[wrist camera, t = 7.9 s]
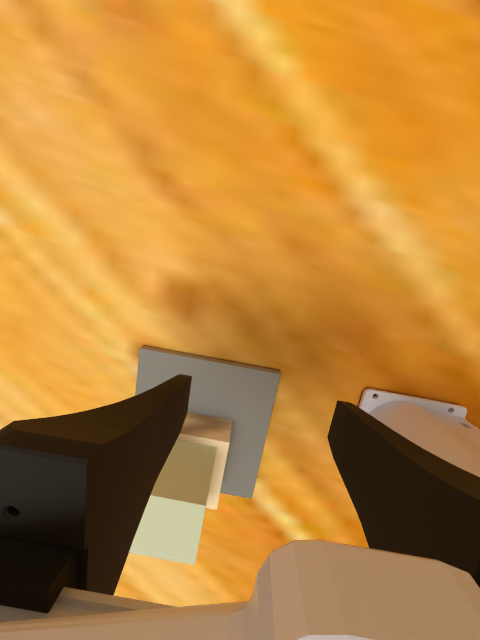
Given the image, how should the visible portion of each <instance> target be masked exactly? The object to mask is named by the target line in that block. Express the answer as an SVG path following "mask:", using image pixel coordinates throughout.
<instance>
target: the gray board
mask: <svg viewBox="0 0 480 640" xmlns="http://www.w3.org/2000/svg"><path fill="white" fill-rule="evenodd" d="M179 374H183V375H189V376H192V380H191V388H190V396H189V404H188V412H191V413H196V414H202V415H207V416H212V417H218V418H223V419H228V420H232V426H231V435H230V443H229V448H228V453H227V458H226V463H225V468H224V473H223V479H222V484H221V489H220V493H224V494H230V495H235V496H240V497H245V498H251V499H252V495H253V491H254V486H255V482H256V478H257V473H258V469H259V465H260V461H261V456H262V452H263V448H264V443H265V439H266V435H267V430H268V426H269V422H270V417H271V413H272V409H273V404H274V400H275V396H276V392H277V387H278V383H279V379H280V371H279V370H273V369H268V368H263V367H257V366H252V365H246V364H241V363H236V362H230V361H225V360H220V359H214V358H209V357H203V356H198V355H193V354H187V353H182V352H176V351H171V350H166V349H160V348H155V347H149V346H142V347H141V348H140V351H139V362H138V372H137V383H136V393H135V396H136V395H138V394H141V393H143V392H145V391H147V390H149V389H152V388H154V387H156V386H158V385H159V384H161V383H163V382H165V381H167V380H169V379H171V378H173V377H175V376H176V375H179Z"/></svg>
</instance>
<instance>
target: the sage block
mask: <svg viewBox="0 0 480 640" xmlns="http://www.w3.org/2000/svg"><path fill="white" fill-rule="evenodd" d="M216 450H217V447H213V446H208V445H203V444H198V443H192V442H187V441H182V440H176V442H175V444H174V446H173V448H172V450H171V452H170V454H169V456H168V458H167V460H166V462H165V464H164V466H163V468H162V470H161V472H160V474H159V476H158V478H157V481H156V483H155V485H154V488H153V490H152V493H151V495H150V498H149V500H148V503H147V505H146V508H145V511H144V513H143V516H142V518H141V521H140V524H139V526H138V529H137V532H136V534H135V537H134V540H133V542H132V545H131V548H130V551H129V553H133V554H138V555H143V556H149V557H154V558H159V559H164V560H169V561H175V562H180V563H185V564H190V565H195V562H196V556H197V551H198V546H199V540H200V535H201V530H202V524H203V519H204V514H205V509H206V503H207V498H208V493H209V487H210V482H211V477H212V471H213V466H214V460H215V455H216Z"/></svg>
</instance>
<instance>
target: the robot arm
mask: <svg viewBox="0 0 480 640" xmlns="http://www.w3.org/2000/svg"><path fill="white" fill-rule="evenodd" d="M191 380H192V376H189V375H183V374H179V375H176V376H175V377H173V378H171V379H169V380H167V381H165V382H163V383H161V384H159V385H158V386H156V387H154V388H152V389H149V390H147V391H145V392H143V393H141V394H138V395H136V396H134V397H131V398H129V399H126V400H123V401H120V402H117V403H114V404H111V405H107V406H103V407H99V408H96V409H92V410H88V411H83V412H78V413H73V414H67V415H61V416H55V417H47V418H38V419H29V420H19V421H13V422H12V423H10V424H9V425H7V426H5V427H4V428H2V429H1V430H0V640H480V429H479V428H477V427H476V426H474V425H473V424H471V423H470V422H468V421H467V420H466V419H465V416H466V414H467V409H466V408H465V407H463V406H461V405H456V404H451V403H446V402H440V401H435V400H429V399H424V398H419V397H413V396H408V395H402V394H397V393H392V392H386V391H381V390H376V389H370V388H368V389H365V390H364V392H363V394H362V398H361V401H360V404H359V407H357V406H355V405H354V404H352V403H349V402H343V401H337V404H336V408H335V412H334V415H333V419H332V422H331V426H330V430H329V433H328V441H329V444H330V448H331V451H332V455H333V458H334V460H335V463H336V465H337V467H338V470H339V472H340V474H341V477H342V479H343V481H344V484H345V486H346V488H347V490H348V493H349V495H350V497H351V500H352V502H353V504H354V506H355V509H356V511H357V514H358V516H359V519H360V521H361V524H362V527H363V530H364V533H365V536H366V539H367V542H368V545H369V548H365V547H359V546H354V545H348V544H342V543H336V542H331V541H325V540H294V541H292V542H290V543H288V544H286V545H284V546H282V547H280V548H278V549H276V550H274V551H272V552H271V553H270V554H269V556H268V557H267V559H266V561H265V562H264V564H263V565H262V567H261V568H260V570H259V572H258V573H257V578H256V582H255V586H254V590H253V595H252V597H251V600H250V601H245V602H233V603H221V604H209V605H197V606H185V607H175V606H169V605H163V604H158V603H152V602H146V601H141V600H135V599H130V598H124V597H118V596H113V595H114V592H115V589H116V586H117V584H118V581H119V578H120V575H121V572H122V570H123V567H124V564H125V562H126V559H127V556H128V553H129V551H130V548H131V545H132V542H133V540H134V537H135V534H136V532H137V529H138V526H139V524H140V521H141V518H142V516H143V513H144V511H145V508H146V505H147V503H148V500H149V498H150V495H151V493H152V490H153V488H154V485H155V483H156V481H157V478H158V476H159V474H160V472H161V470H162V468H163V466H164V464H165V462H166V460H167V458H168V456H169V454H170V452H171V450H172V448H173V446H174V444H175V442H176V440H177V438H178V436H179V434H180V432H181V430H182V427H183V424H184V421H185V418H186V416H187V412H188V404H189V396H190V388H191ZM374 394H376V396H374V397H373V395H374ZM449 408H450V410H448V409H449Z"/></svg>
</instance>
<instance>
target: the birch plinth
mask: <svg viewBox="0 0 480 640" xmlns="http://www.w3.org/2000/svg"><path fill="white" fill-rule="evenodd" d="M231 426H232V420H228V419H223V418H218V417H212V416H207V415H202V414H196V413H191V412H187V416H186V418H185V421H184V424H183V427H182V430H181V432H180V434H179V436H178V438H177V440H182V441H187V442H192V443H198V444H203V445H208V446H213V447H217V450H216V455H215V460H214V466H213V471H212V477H211V482H210V487H209V493H208V498H207V503H206V508H209V509H215V510H216V509H217V504H218V499H219V494H220V489H221V484H222V479H223V473H224V468H225V463H226V458H227V453H228V448H229V443H230V435H231Z"/></svg>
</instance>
